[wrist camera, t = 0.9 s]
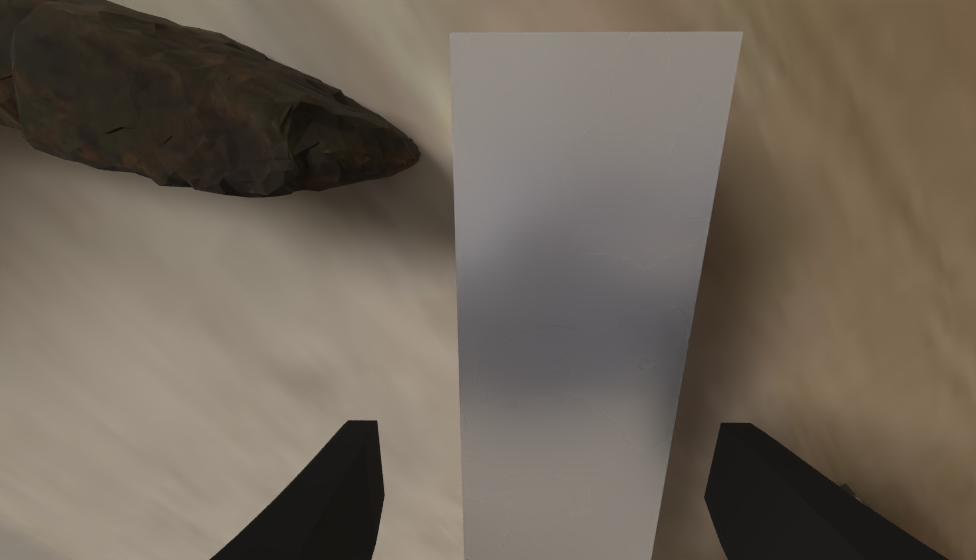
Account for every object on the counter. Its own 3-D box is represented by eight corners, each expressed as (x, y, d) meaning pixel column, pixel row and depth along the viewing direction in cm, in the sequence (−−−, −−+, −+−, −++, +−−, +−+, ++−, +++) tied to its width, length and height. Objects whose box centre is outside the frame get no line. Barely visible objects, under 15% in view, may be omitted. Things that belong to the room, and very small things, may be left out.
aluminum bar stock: (621, 53, 11) (742, 31, 6) (576, 549, 18) (614, 768, 12) (471, 53, 11) (449, 32, 6) (477, 548, 18) (470, 766, 12)
